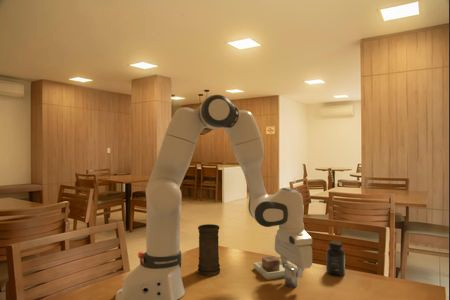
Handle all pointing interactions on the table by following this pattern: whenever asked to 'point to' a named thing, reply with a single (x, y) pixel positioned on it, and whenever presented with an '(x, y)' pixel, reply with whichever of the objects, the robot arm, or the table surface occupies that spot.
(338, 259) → the supplement bottle
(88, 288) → the table surface
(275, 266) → the walnut block
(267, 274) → the tray
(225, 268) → the table surface
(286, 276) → the metal cylinder
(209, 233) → the container
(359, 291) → the table surface
